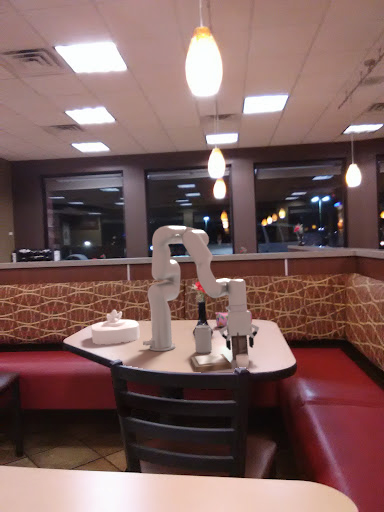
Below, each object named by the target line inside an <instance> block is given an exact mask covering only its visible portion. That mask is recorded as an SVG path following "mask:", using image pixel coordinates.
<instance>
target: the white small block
mask: <svg viewBox="0 0 384 512" xmlns="http://www.w3.org/2000/svg"><path fill="white" fill-rule="evenodd" d="M249 357H250V356H249V354H248V355H247V354H238V355H236V360H235V362H236V363H235V364H236V365H235V366H236V368H237V367H246V369H248V367H249V368H250V358H249Z"/></svg>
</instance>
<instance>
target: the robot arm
mask: <svg viewBox="0 0 384 512" xmlns="http://www.w3.org/2000/svg"><path fill="white" fill-rule="evenodd" d="M209 239H210V237H209V236H208V234H207V232H206V231H204V230H202V229H197V228H193V227H189V226H184V225H164V226H160V227H158V229H156V230H155V231H154V233H153V236H152V241H151V242H152V255H151V256H152V257H151V258H152V259H151V260H152V262H151V276H152V278H153V279H154V280H155V281H162V282H157V283H154V284H152V285H151V286H149V288H148V290H147V297H148V301H149V307H150V308H149V309H150V323H151V339H149V340H143V341H142V345H143V346H145V347H146V346H149V347H148V348H149V350H150V351H153V352H166V351H167V352H168V351H171V350H174V349H175V348H176V344H175V343H174V342H173V338H172V337H173V336H172V335H173V334H172V317H171V316H172V315H171V308H170V306H169V303H168V302H169V301H174V300H176V299H177V298H178V296H179V294H180V288H181V287H180V286H181V266H180V265H179V262H177V261H176V260H175V259H171V248H170V246H169V245H171V244H172V245H175V244H182V245H183V246H184V247H185V249H186V251H187V252H188V254H189V255H190V257H191V259H192V260H193V262H194V264H195V266H196V274H197V275H196V276H197V279H198V282H199V284H200V285H201V287H202V289H203V291H204V292H205V294H207V296H209V297H210V298H213V299H218V298H221V297H224V296H228V305H227V306H225V309H226V311H227V310H228V311H227V313H228V315H227V326H225V327H221V329H219V330H218V332H219V333H220V335H221V337H222V338H223V339H224V340H225V346H226V348H227V350H229V351H232V343H231V337H232V336H237V333H239V336H243V335H247V336H248V347H250V348H251V349H253V348H254V344H255V341H254V339H255V337H256V335H257V334H258V332H259V330H260V327H259V326H258V325H255V324H253V323H251V318H250V313H249V311H250V310H249V311H247V310H248V306H247V305H248V304H247V303H248V302H247V289H246V288H247V286H246V285H247V284H246V280H244V279H241V278H238V279H237V278H233V279H231V278H225V277H224V278H219V279H217V278H215V276H214V274H213V272H212V269H211V262H212V260H213V259H214V256H213V253H212V252H211V251H210V249H209V247H208V244H209V242H210V240H209ZM253 329H254V330H253ZM225 332H226V333H227V334H225Z"/></svg>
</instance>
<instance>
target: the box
mask: <svg viewBox="0 0 384 512" xmlns="http://www.w3.org/2000/svg"><path fill="white" fill-rule="evenodd" d="M230 341H231V354H232V360H235V361H236V355H238V354H247V355H249V348H248V347H249V345H248V335H243V336H239V333H237V336H232V337H231V338H230Z"/></svg>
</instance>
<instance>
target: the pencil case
mask: <svg viewBox="0 0 384 512" xmlns="http://www.w3.org/2000/svg"><path fill="white" fill-rule="evenodd" d="M247 311H249V313H250V318H251V324H253V316H252V311H250V310H248V309H247ZM215 315H216V316H215V317H216V318H215V324H216V327H217V328H224V327H225V326H227V315H228V312H225V311H224V312H222V311H219V312H215Z"/></svg>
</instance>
